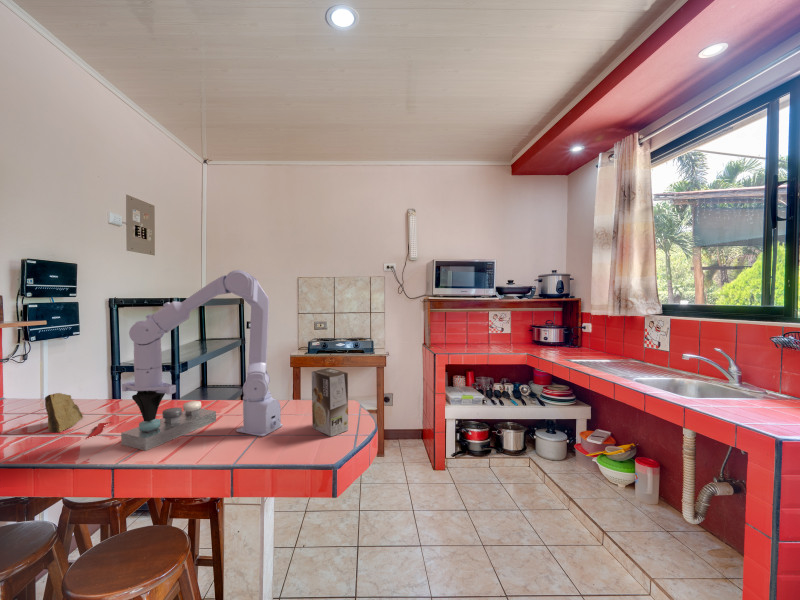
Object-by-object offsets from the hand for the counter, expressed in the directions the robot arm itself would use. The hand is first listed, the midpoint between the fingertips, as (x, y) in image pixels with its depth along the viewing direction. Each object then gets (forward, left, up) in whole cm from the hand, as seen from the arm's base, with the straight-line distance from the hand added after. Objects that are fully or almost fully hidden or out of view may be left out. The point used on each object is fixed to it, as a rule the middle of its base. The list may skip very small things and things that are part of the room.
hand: (149, 420), depth 89 cm
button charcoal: (0, -6, -3) cm, 7 cm away
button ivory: (0, -12, -3) cm, 12 cm away
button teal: (0, 0, -4) cm, 4 cm away
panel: (0, -6, -5) cm, 8 cm away
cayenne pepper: (+20, +1, -6) cm, 21 cm away
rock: (+33, +1, -6) cm, 34 cm away
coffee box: (-39, -23, -6) cm, 46 cm away
